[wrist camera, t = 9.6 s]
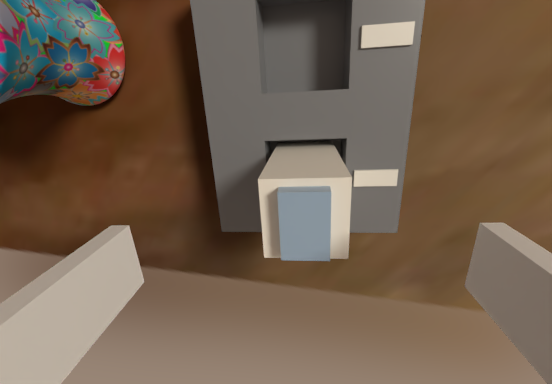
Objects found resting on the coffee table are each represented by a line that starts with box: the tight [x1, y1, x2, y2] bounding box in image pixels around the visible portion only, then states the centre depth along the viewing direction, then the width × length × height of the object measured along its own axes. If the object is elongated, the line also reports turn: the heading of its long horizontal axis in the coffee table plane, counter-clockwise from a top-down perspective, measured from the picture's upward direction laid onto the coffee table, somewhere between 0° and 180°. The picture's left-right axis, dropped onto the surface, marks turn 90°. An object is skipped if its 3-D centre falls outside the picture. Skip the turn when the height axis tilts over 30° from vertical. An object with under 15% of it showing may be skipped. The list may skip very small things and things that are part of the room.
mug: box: [0, 0, 125, 106], centre depth 17 cm, size 12×9×11 cm
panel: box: [190, 0, 425, 233], centre depth 20 cm, size 14×18×4 cm
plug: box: [258, 141, 352, 261], centre depth 17 cm, size 4×4×11 cm
